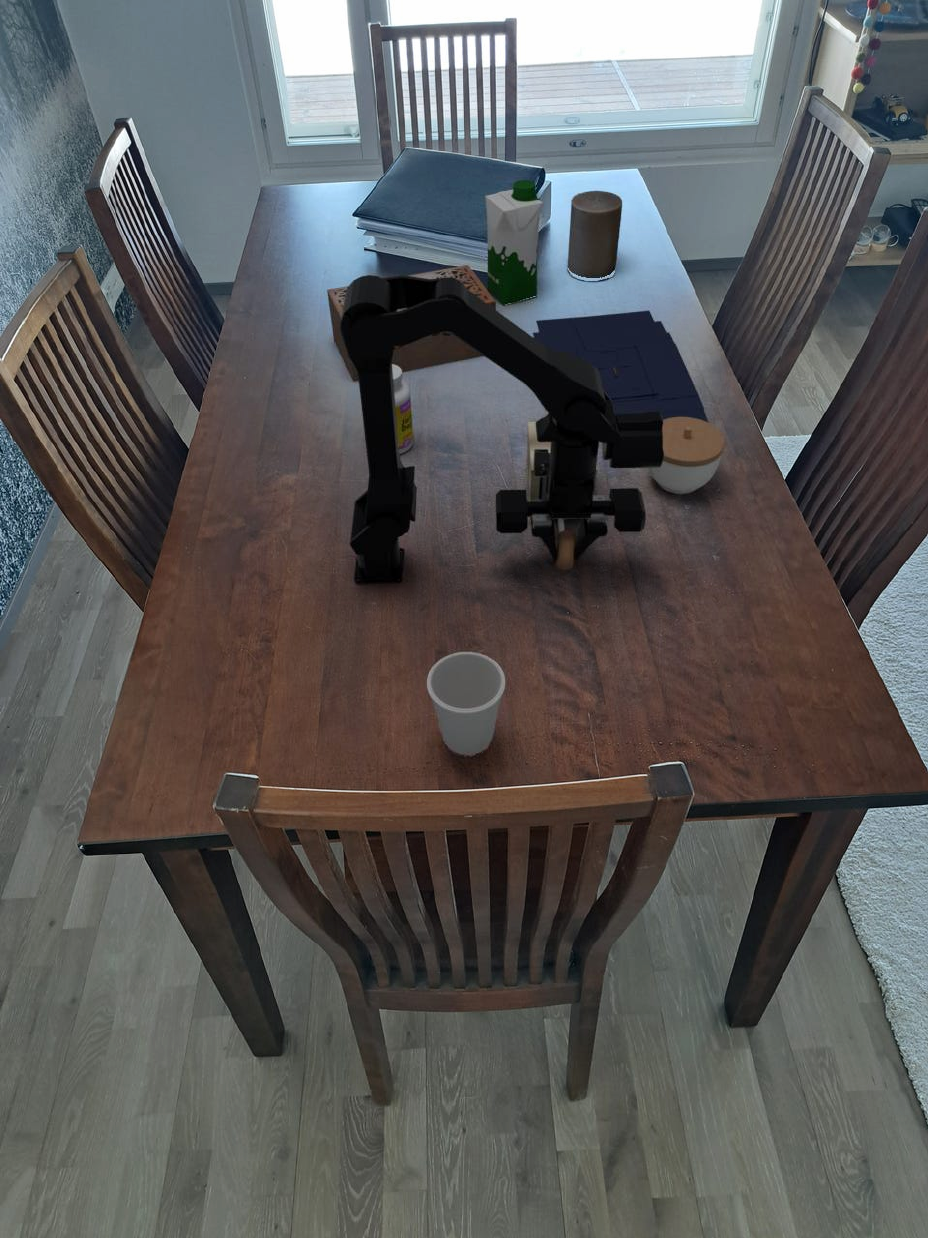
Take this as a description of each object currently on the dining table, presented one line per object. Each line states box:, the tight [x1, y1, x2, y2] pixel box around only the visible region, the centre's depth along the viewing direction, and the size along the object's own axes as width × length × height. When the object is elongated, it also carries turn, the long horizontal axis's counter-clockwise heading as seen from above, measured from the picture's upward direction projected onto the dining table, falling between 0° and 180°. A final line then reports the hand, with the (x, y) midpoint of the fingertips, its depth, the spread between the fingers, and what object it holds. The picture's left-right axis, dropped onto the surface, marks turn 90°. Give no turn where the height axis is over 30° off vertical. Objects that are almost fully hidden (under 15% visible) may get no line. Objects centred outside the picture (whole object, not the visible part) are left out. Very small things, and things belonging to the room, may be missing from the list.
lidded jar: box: [648, 417, 726, 495], centre depth 131 cm, size 11×11×9 cm
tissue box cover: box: [326, 264, 497, 383], centre depth 159 cm, size 26×14×10 cm, turn 109°
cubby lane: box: [525, 421, 598, 523], centre depth 129 cm, size 11×9×9 cm
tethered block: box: [539, 477, 577, 571], centre depth 127 cm, size 19×5×5 cm, turn 0°
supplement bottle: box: [392, 364, 414, 455], centre depth 138 cm, size 7×7×13 cm
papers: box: [532, 310, 709, 423], centre depth 153 cm, size 24×30×4 cm
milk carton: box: [485, 179, 544, 306], centre depth 168 cm, size 9×9×20 cm
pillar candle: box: [567, 190, 623, 278], centre depth 175 cm, size 10×10×15 cm
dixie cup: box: [426, 651, 506, 755], centre depth 100 cm, size 8×8×10 cm
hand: (565, 558), depth 122 cm, fingers closed on tethered block, 2 cm apart
